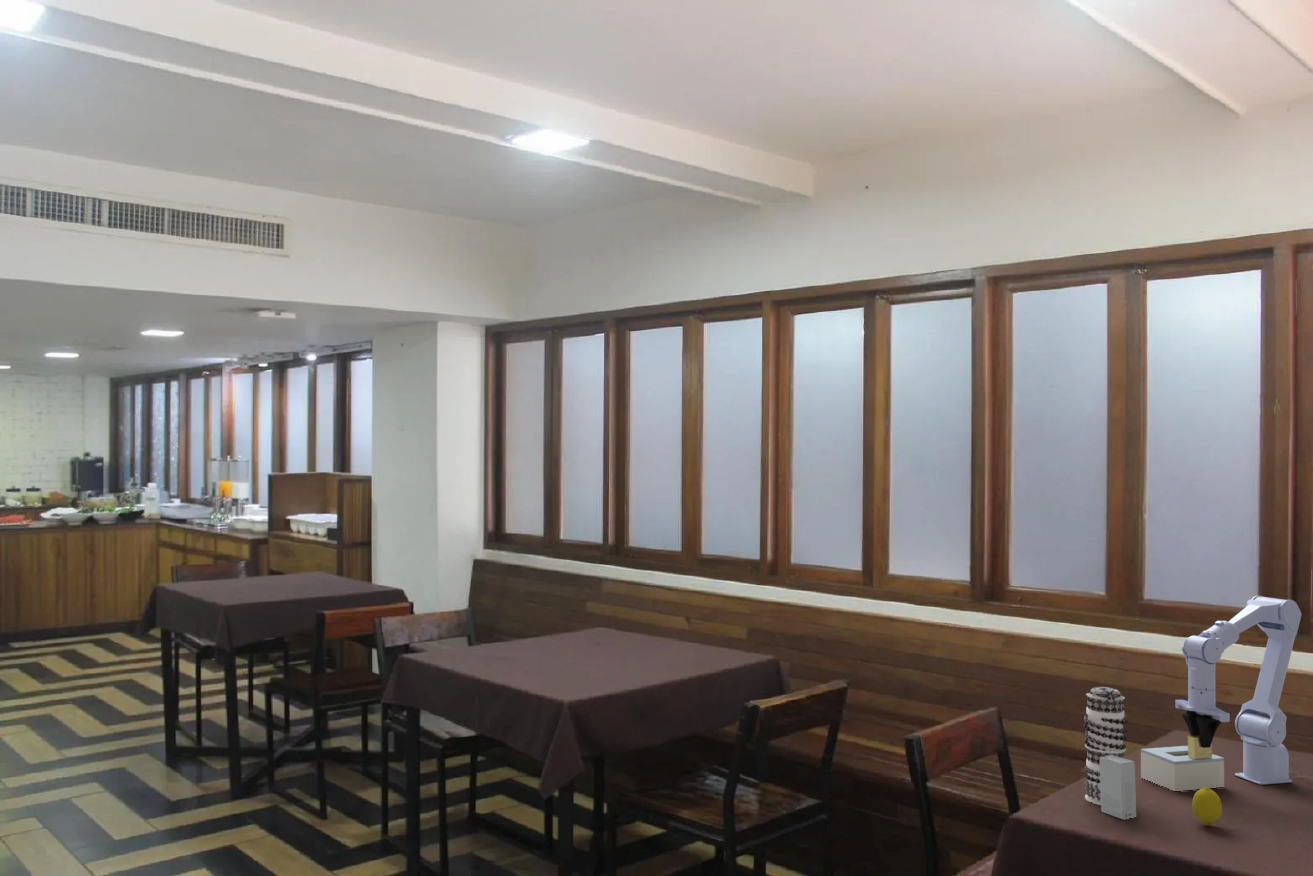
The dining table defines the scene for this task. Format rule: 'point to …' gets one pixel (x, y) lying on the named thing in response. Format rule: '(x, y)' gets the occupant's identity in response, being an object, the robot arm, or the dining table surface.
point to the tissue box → (1181, 769)
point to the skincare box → (1118, 787)
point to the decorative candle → (1102, 735)
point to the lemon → (1207, 806)
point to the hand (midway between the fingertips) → (1201, 745)
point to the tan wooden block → (1197, 748)
